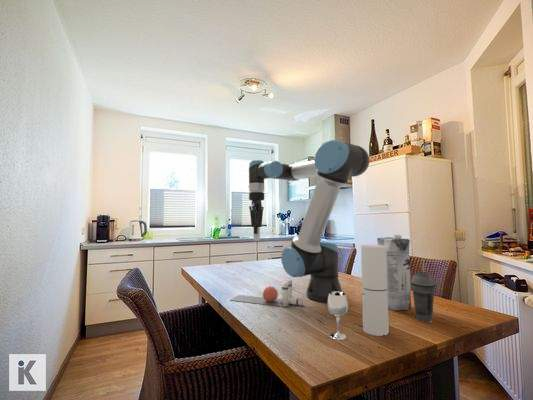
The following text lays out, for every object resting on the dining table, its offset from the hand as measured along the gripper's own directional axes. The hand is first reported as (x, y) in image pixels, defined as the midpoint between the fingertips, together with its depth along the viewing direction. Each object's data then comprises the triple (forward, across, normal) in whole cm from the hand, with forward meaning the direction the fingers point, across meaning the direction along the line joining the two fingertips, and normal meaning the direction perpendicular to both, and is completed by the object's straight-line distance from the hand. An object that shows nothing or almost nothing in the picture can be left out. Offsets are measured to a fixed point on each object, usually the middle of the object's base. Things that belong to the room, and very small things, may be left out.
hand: (256, 240), depth 134 cm
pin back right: (+22, +16, +21) cm, 35 cm away
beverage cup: (+23, +19, +68) cm, 74 cm away
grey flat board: (+22, +19, +10) cm, 31 cm away
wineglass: (+23, +42, +43) cm, 64 cm away
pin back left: (+22, +22, +21) cm, 37 cm away
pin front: (+21, +19, +18) cm, 34 cm away
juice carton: (+23, +8, +60) cm, 65 cm away
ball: (+19, +19, +14) cm, 30 cm away
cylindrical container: (+23, +34, +53) cm, 67 cm away
